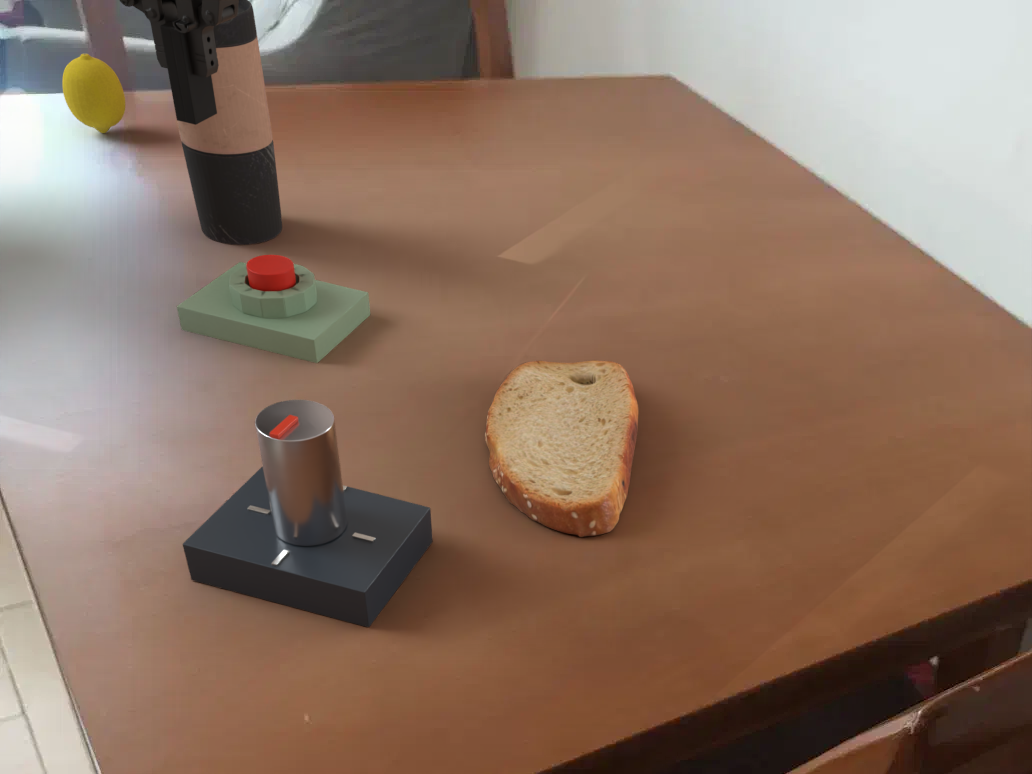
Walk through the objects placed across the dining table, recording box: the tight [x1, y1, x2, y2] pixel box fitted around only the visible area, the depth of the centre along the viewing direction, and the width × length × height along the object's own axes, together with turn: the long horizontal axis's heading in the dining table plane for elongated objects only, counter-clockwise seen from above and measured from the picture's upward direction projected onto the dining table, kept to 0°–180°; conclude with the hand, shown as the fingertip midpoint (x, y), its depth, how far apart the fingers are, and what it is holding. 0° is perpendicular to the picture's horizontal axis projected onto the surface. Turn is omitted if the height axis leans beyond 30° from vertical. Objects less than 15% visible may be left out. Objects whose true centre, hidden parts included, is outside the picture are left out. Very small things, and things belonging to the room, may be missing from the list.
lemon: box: [61, 53, 126, 134], centre depth 116 cm, size 6×6×8 cm
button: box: [246, 254, 296, 291], centre depth 92 cm, size 4×4×2 cm
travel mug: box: [176, 0, 283, 246], centre depth 100 cm, size 8×8×20 cm
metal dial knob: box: [254, 399, 347, 546], centre depth 69 cm, size 4×4×8 cm
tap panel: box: [182, 465, 434, 628], centre depth 72 cm, size 12×9×3 cm
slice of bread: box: [484, 359, 639, 538], centre depth 86 cm, size 18×18×4 cm
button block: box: [176, 261, 371, 364], centre depth 93 cm, size 12×9×4 cm
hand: (197, 116), depth 82 cm, fingers closed
